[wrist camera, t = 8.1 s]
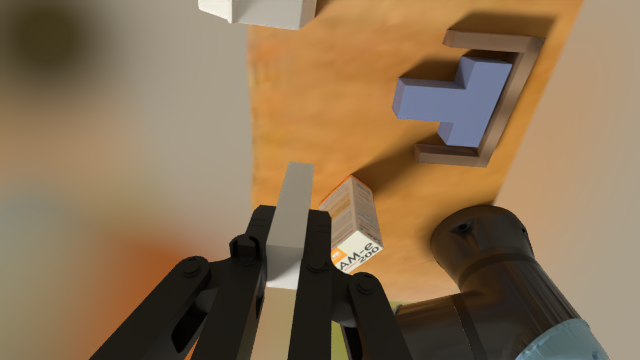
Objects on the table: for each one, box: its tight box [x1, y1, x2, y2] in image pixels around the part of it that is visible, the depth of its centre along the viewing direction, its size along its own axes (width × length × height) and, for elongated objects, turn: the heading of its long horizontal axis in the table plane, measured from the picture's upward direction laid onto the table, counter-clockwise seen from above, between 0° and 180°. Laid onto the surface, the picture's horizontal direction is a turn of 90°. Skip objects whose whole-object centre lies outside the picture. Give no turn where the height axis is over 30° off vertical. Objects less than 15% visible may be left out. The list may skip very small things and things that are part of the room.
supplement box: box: [319, 174, 383, 274], centre depth 40 cm, size 8×5×13 cm, turn 141°
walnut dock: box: [413, 30, 546, 168], centre depth 34 cm, size 16×10×3 cm, turn 177°
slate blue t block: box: [392, 56, 512, 147], centre depth 34 cm, size 11×10×4 cm
